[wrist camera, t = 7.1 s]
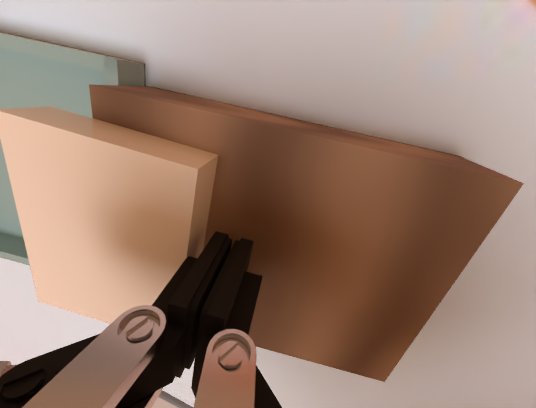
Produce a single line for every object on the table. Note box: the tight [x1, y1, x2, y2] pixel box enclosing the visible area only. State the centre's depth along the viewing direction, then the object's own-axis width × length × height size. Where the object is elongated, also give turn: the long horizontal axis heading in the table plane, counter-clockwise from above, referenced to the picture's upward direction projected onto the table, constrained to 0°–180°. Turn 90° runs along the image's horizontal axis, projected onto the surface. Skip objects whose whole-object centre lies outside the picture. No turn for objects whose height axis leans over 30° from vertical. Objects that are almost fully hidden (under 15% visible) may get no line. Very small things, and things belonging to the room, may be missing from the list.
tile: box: [0, 106, 218, 324], centre depth 11 cm, size 7×9×2 cm
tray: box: [0, 32, 145, 265], centre depth 15 cm, size 14×14×2 cm
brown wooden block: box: [89, 84, 524, 382], centre depth 13 cm, size 16×12×4 cm
